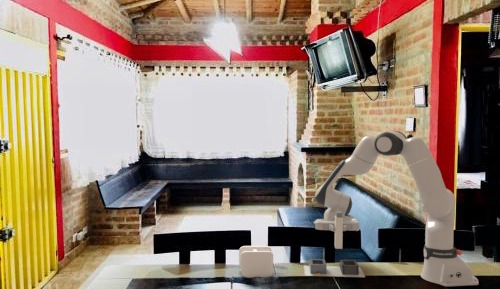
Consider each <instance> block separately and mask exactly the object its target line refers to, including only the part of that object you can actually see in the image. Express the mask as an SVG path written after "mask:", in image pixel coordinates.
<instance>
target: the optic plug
mask: <svg viewBox="0 0 500 289" xmlns="http://www.w3.org/2000/svg"><path fill="white" fill-rule="evenodd" d="M343 232H344V231H343V217H342V212H336V216H335V232H334V243H333V244H334V248H335V249H336V250H337V249H339V250H340V249H341V250H343V238H344V237H343V236H344V234H343Z"/></svg>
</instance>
